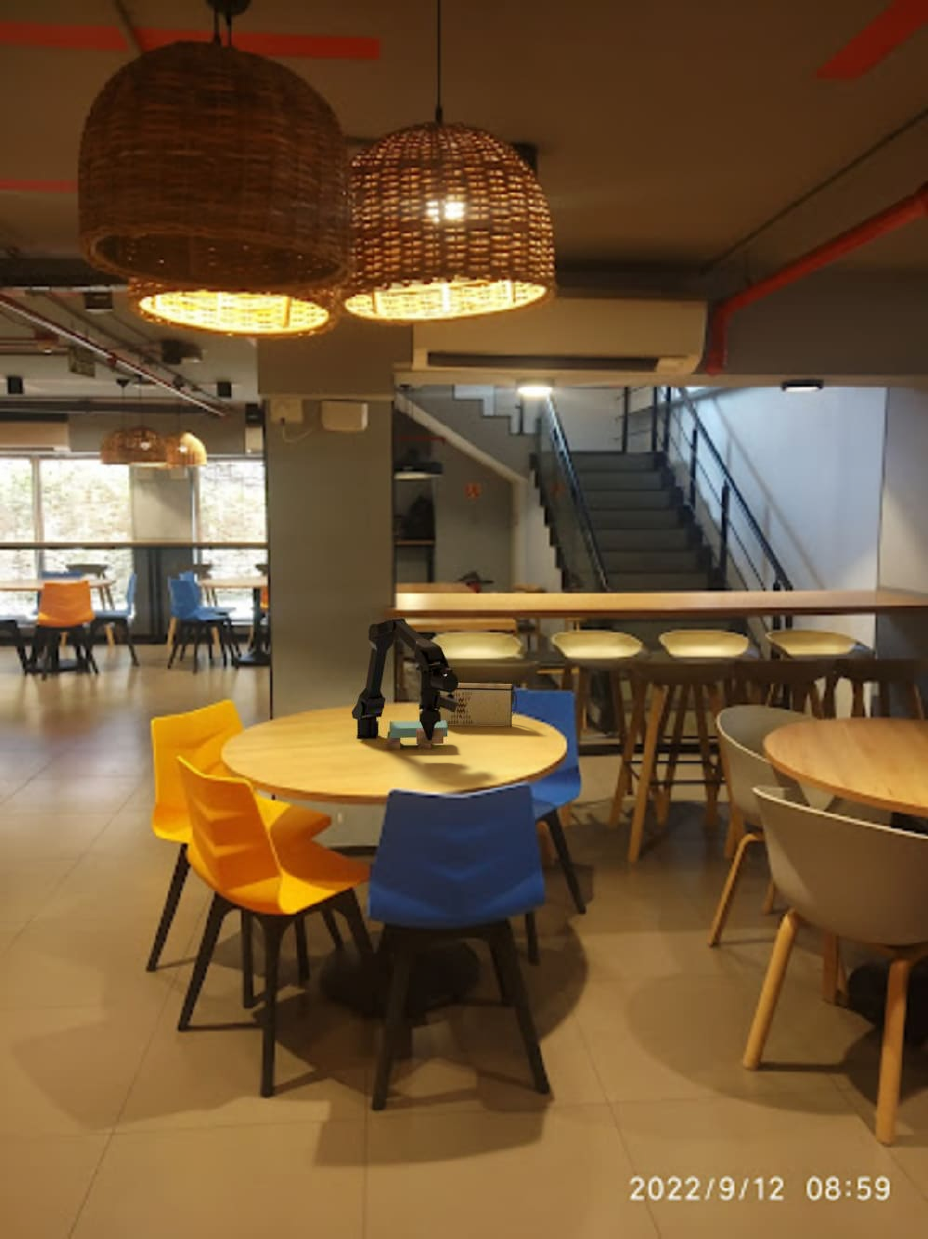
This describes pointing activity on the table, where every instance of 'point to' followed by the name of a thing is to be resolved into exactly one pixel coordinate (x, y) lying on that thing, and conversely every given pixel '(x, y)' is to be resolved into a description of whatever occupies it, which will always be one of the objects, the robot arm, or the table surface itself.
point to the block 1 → (393, 743)
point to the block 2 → (436, 737)
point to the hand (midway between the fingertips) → (429, 738)
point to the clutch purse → (481, 705)
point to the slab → (411, 728)
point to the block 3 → (424, 746)
